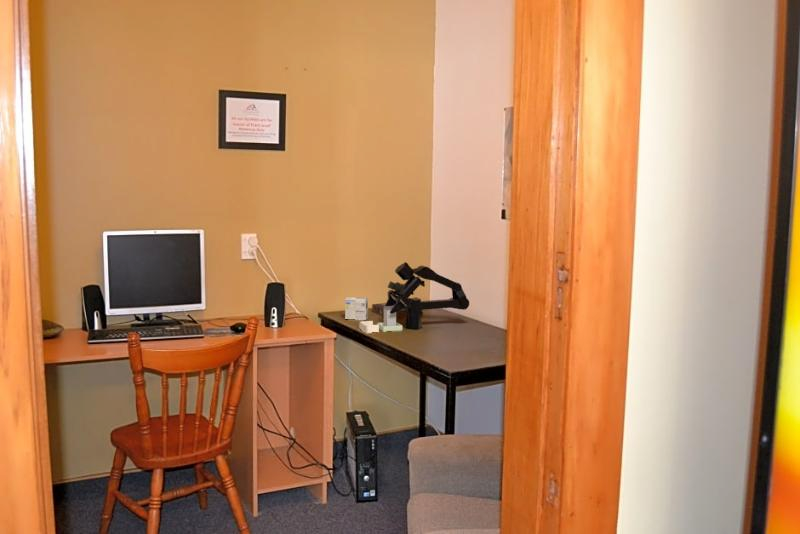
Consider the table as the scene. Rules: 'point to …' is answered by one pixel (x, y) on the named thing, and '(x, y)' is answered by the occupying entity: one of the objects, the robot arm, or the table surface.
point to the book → (379, 310)
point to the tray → (390, 327)
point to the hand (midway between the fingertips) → (387, 311)
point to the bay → (368, 326)
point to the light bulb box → (356, 308)
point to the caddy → (389, 316)
